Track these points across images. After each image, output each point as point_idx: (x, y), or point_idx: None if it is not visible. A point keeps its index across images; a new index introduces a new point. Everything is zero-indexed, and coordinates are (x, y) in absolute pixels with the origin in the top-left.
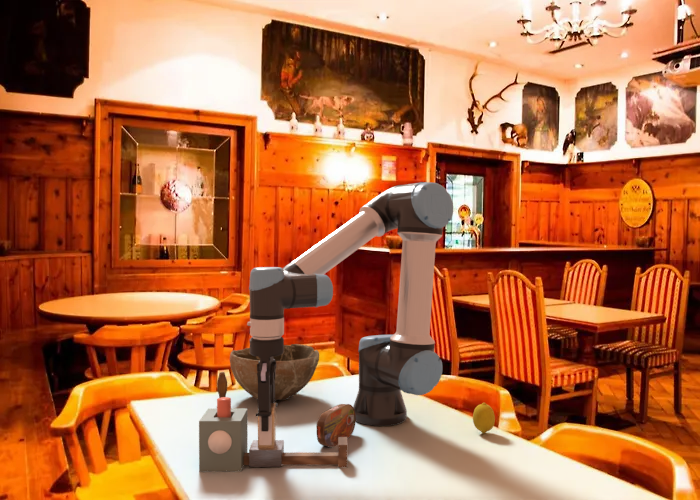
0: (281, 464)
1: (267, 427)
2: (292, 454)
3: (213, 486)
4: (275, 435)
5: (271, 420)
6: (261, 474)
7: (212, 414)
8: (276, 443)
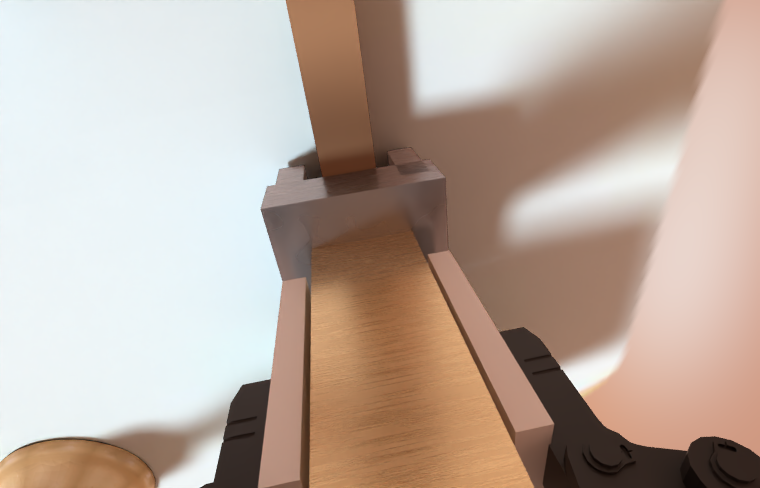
0: (403, 150)
1: (546, 353)
2: (341, 108)
3: (576, 331)
4: (313, 274)
5: (521, 379)
6: (484, 214)
7: None
8: (333, 237)
